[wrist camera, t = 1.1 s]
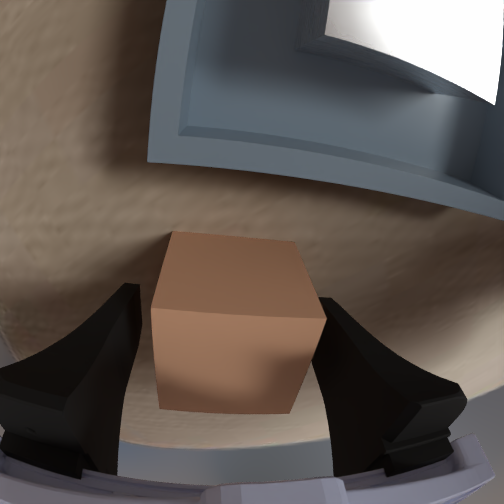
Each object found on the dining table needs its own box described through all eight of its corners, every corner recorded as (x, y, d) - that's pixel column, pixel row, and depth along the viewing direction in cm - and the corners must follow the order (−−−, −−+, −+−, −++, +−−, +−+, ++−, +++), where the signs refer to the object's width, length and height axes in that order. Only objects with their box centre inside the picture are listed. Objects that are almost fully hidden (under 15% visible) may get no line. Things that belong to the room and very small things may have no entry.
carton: (294, 241, 14) (326, 318, 9) (272, 330, 16) (289, 413, 11) (173, 230, 13) (150, 307, 8) (171, 324, 15) (159, 408, 11)
